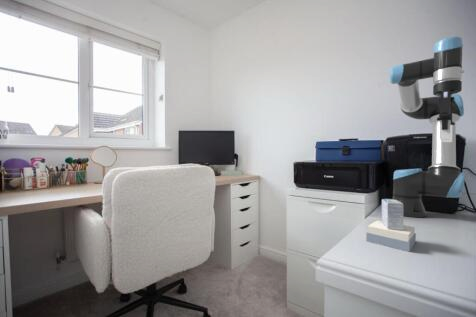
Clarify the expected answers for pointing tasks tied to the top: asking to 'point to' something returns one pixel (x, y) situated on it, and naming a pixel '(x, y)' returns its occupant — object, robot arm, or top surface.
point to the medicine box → (392, 214)
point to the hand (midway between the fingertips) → (446, 141)
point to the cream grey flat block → (391, 236)
